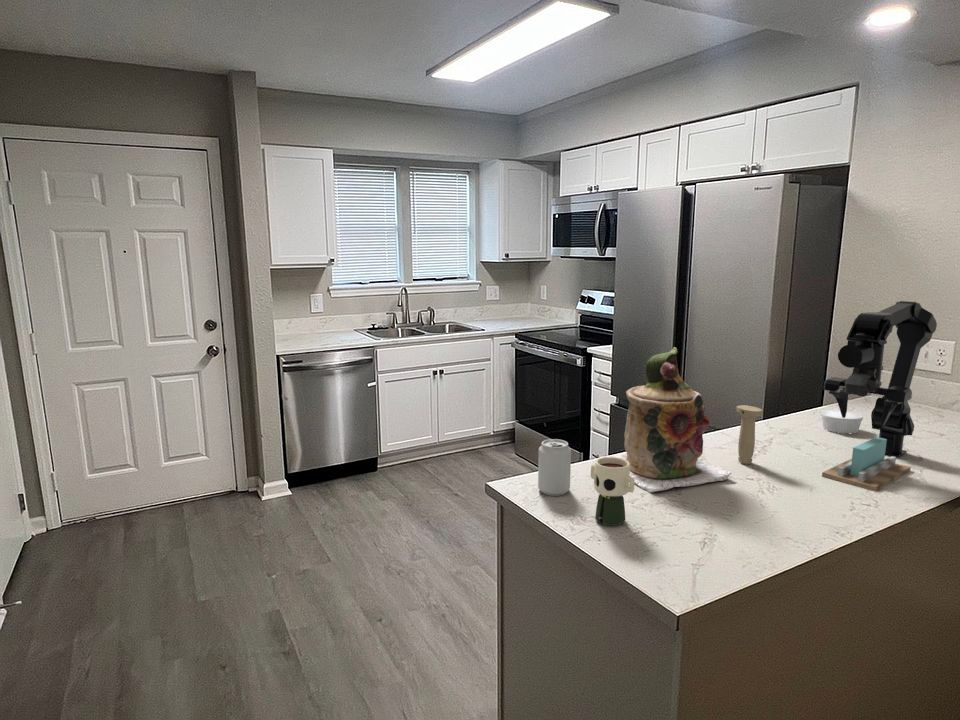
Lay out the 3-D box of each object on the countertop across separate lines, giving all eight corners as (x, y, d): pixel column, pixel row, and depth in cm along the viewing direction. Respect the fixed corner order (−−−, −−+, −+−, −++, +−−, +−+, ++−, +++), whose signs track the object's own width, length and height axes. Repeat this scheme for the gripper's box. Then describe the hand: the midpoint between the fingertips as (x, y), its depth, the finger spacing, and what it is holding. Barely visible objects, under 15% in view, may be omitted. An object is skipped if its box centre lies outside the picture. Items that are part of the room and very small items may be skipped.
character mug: (579, 517, 130) (580, 459, 127) (600, 508, 134) (602, 451, 132) (620, 535, 121) (623, 473, 119) (642, 525, 126) (645, 465, 124)
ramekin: (811, 427, 194) (813, 411, 193) (835, 423, 199) (836, 407, 198) (845, 437, 184) (847, 420, 183) (868, 432, 189) (870, 416, 188)
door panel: (873, 462, 159) (876, 436, 158) (883, 465, 157) (886, 439, 156) (850, 474, 151) (853, 447, 150) (860, 477, 149) (863, 450, 148)
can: (549, 499, 139) (550, 449, 137) (532, 488, 145) (532, 440, 143) (576, 493, 142) (577, 444, 140) (558, 482, 149) (559, 435, 147)
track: (859, 458, 166) (860, 447, 165) (910, 470, 156) (911, 459, 156) (821, 476, 153) (823, 464, 152) (875, 491, 143) (876, 478, 143)
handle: (749, 468, 159) (753, 412, 156) (728, 460, 164) (732, 406, 161) (761, 464, 161) (766, 409, 158) (740, 457, 166) (744, 404, 164)
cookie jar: (594, 462, 163) (598, 344, 158) (669, 450, 172) (675, 339, 167) (653, 496, 141) (660, 360, 135) (735, 481, 150) (744, 353, 144)
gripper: (816, 361, 158) (811, 419, 161) (899, 372, 144) (892, 436, 147) (834, 356, 165) (829, 411, 168) (915, 366, 151) (908, 426, 153)
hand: (862, 421), depth 159 cm, fingers open, 9 cm apart
